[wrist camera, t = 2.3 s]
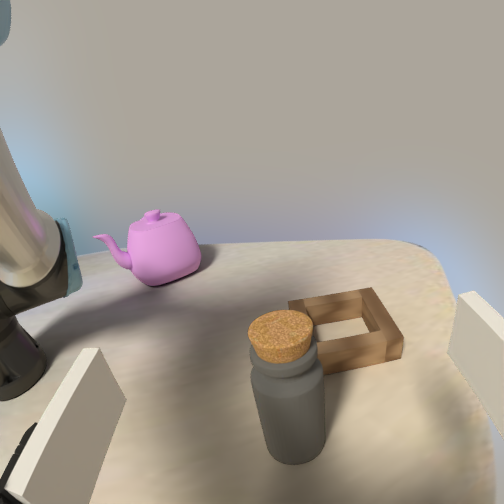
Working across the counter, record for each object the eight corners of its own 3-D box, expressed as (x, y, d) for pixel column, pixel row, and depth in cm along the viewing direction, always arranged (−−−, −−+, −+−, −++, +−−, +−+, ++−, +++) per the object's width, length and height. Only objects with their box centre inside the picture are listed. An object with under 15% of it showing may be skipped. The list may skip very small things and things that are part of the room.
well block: (300, 378, 37) (298, 357, 36) (290, 320, 49) (288, 301, 48) (400, 358, 36) (403, 336, 35) (371, 306, 48) (371, 287, 47)
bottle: (277, 473, 25) (251, 363, 20) (260, 431, 30) (232, 317, 25) (334, 452, 26) (335, 335, 21) (311, 413, 31) (302, 297, 26)
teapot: (181, 249, 89) (169, 196, 83) (214, 270, 71) (200, 204, 66) (104, 277, 78) (87, 222, 73) (117, 308, 61) (93, 239, 56)
